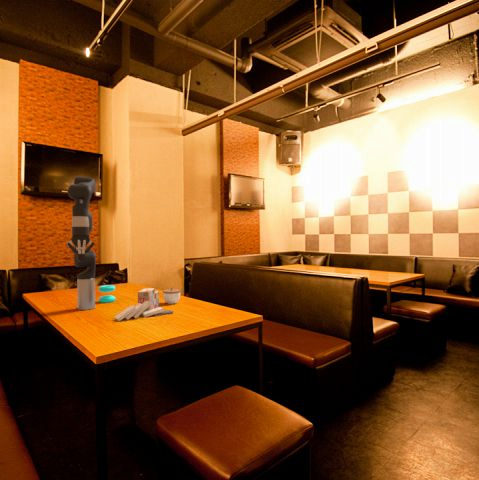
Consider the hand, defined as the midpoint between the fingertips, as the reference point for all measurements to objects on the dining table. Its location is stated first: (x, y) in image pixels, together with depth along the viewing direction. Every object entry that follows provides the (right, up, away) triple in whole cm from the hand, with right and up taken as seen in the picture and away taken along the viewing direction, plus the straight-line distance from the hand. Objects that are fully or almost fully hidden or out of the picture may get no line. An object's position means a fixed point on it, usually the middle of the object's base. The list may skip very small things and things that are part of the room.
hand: (80, 261), depth 160 cm
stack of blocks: (+27, -29, +24) cm, 46 cm away
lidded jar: (+35, -29, +44) cm, 63 cm away
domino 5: (+32, -29, +12) cm, 45 cm away
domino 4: (+28, -28, +9) cm, 40 cm away
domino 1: (+17, -28, +1) cm, 33 cm away
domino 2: (+20, -28, +4) cm, 35 cm away
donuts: (-8, -29, +51) cm, 59 cm away
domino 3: (+24, -28, +6) cm, 37 cm away
